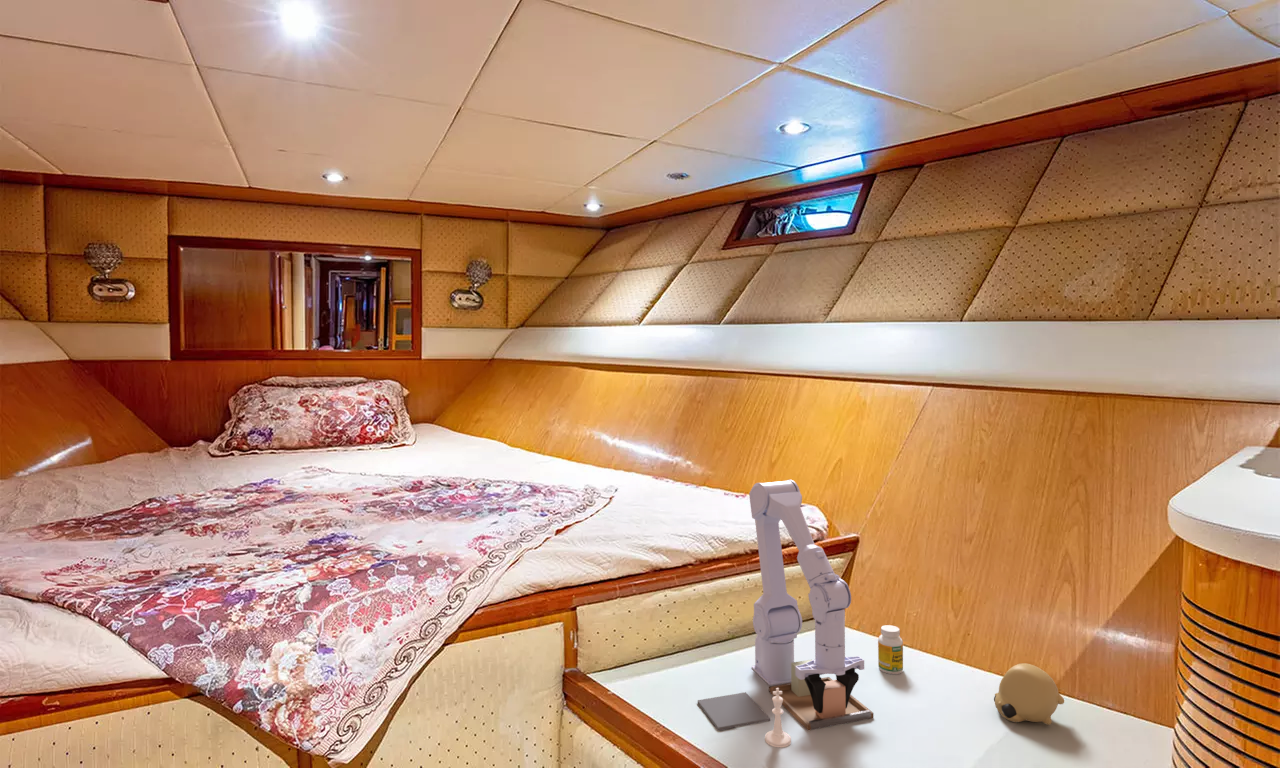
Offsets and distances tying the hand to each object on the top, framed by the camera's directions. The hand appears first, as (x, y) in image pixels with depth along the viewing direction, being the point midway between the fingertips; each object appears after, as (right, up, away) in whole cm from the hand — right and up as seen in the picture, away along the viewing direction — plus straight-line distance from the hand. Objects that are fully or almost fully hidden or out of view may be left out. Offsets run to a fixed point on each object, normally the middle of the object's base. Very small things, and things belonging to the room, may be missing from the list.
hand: (830, 708), depth 134 cm
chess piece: (-12, -2, -9) cm, 15 cm away
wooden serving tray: (-1, -1, +4) cm, 4 cm away
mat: (-19, -2, +2) cm, 19 cm away
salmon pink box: (0, -1, 0) cm, 1 cm away
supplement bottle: (+19, -1, +19) cm, 27 cm away
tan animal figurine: (+38, -1, -2) cm, 38 cm away
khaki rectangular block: (-3, -1, +9) cm, 10 cm away
